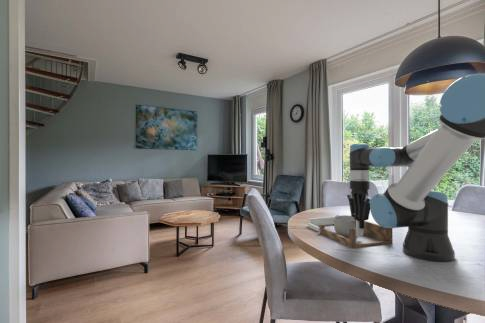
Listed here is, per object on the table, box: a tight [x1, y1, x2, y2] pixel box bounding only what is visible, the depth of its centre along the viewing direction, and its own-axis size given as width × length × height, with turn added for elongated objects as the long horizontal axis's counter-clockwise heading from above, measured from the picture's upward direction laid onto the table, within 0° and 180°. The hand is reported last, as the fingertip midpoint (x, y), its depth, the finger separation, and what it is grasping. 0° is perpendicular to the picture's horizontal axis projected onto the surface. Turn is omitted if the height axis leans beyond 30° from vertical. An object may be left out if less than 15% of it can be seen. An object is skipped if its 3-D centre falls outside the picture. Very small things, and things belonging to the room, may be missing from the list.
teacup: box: [333, 214, 356, 238], centre depth 117 cm, size 14×11×8 cm
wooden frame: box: [319, 220, 394, 249], centre depth 111 cm, size 22×20×7 cm
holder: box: [307, 215, 336, 233], centre depth 129 cm, size 10×19×4 cm, turn 106°
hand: (359, 235), depth 108 cm, fingers closed
